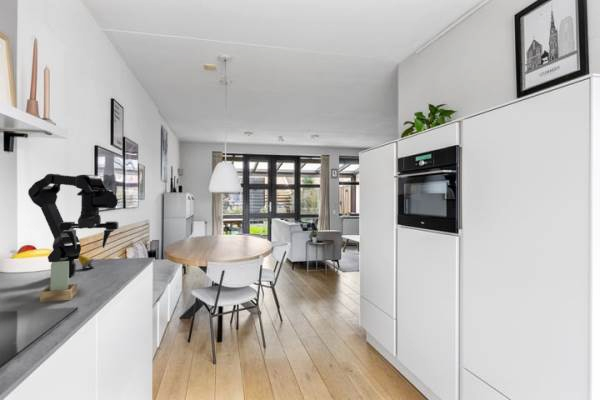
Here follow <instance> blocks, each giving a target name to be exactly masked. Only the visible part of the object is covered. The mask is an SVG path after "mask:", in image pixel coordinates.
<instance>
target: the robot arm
mask: <svg viewBox="0 0 600 400" xmlns="http://www.w3.org/2000/svg"><path fill="white" fill-rule="evenodd" d="M61 185H64V186H65V185H66V186H73V187H75V188H77V189H80V191H79V192H78V193H77V194H76V196H80V197H81V202H80V203H81V204H80V205H81V208H80V210H81V211H80V215H79V217H78V219H77V223H76V222H75V221H64V219H63V217H62V214H61V213H60V211H59V208H58V205H57V204H56V203H57V201H58V200H57V199H58V193H59V192H60V191H61ZM27 191H28V192H27V194H28V196H29V198H30V200H31V202H32V203H33V204H35V205H36V206H37V207H39V208H40V209H41V212H42V214H43V216H44V218H45V221H46V223H47V225H48V227H49V230H50V232H51V234H52V236H53V239H54V240H53V243H52V251H51V252H50V253H49V255H47V261H48V263H52V262H62V261H69V278H72V277H73V276H74V275H75V274H76V268H77V267H76V266H77V263H76V262H75V260H79V259H78V258H79V254H80V253H81V251H82V246H81V245H82V242H81V241H80V240H79V237H78V235H77V229H104V230H103V240H102V248H104V249H105V246H106V245H107V242H108V239H109V236H110V235H111V233H113V232H115V230H118V229H119V222H118V221H115V220H114V221H113V220H112V221H111V220H110V221H108V220H107V221H105V222H104V223H103V222H102V223H101V221H102V220H101V215H100V209H114V208H116V206H118V203H119V200H118V197H117V195H116V194H114V190H109V189H108V188H107V186H106V184H105V183H104V182H103V180H102V177H101V176H99V175H93V174H79V175H78V174H77V175H64V174H63V175H62V174H59V173H48V174H46V175H44V177H43V178H41V179H39V180H37V181H35V182H34V183H33V184H32V186H31V187H30V188H29V189H28V190H27ZM80 255H81V254H80Z"/></svg>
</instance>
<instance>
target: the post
mask: <svg viewBox="0 0 600 400" xmlns="http://www.w3.org/2000/svg"><path fill="white" fill-rule="evenodd" d="M69 279H70V277H69V261H62V262H51V264H50V285H51V286H50V285H49V286H50V291H60V290H68V287H69V284H70V283H69Z"/></svg>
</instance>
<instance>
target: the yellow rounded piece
mask: <svg viewBox="0 0 600 400" xmlns="http://www.w3.org/2000/svg"><path fill="white" fill-rule="evenodd" d="M77 260H78V261H79V263H80V265H81V269H83V270H85V269H86V268H87V267H88V268H91V269H95V266H94V265H93V262H94V261H95V259H94V257H92V258H91V257H88V256H85V255H82V254H79V258H78V259H77Z"/></svg>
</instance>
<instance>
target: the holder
mask: <svg viewBox="0 0 600 400" xmlns="http://www.w3.org/2000/svg"><path fill="white" fill-rule="evenodd" d="M50 286H51V284H50V285H48V286H46V287H45V288H44V289H43V290H41V291H40V293H39V302H40V303H48V302H61V301H70V300H72V299H74V297H75V296H76V295H77V293H78V283H69V287H68V290H60V291H50Z"/></svg>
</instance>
